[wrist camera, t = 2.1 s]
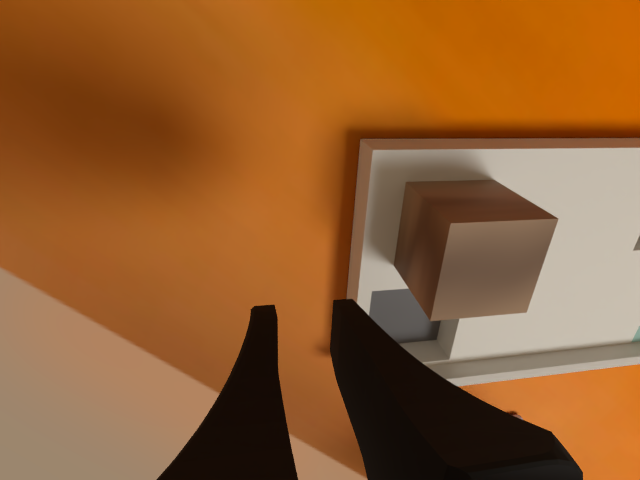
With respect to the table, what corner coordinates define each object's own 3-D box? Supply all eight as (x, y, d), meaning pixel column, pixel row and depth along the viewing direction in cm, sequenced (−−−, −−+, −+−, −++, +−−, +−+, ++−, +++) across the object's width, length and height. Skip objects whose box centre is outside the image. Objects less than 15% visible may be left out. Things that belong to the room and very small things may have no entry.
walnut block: (473, 260, 22) (526, 312, 18) (393, 265, 21) (430, 321, 17) (494, 179, 20) (558, 218, 16) (405, 181, 19) (450, 223, 15)
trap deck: (677, 324, 31) (721, 354, 28) (341, 358, 26) (353, 398, 23) (782, 137, 24) (853, 152, 22) (360, 138, 20) (381, 157, 17)
